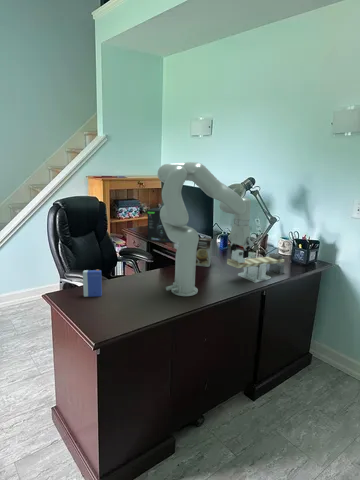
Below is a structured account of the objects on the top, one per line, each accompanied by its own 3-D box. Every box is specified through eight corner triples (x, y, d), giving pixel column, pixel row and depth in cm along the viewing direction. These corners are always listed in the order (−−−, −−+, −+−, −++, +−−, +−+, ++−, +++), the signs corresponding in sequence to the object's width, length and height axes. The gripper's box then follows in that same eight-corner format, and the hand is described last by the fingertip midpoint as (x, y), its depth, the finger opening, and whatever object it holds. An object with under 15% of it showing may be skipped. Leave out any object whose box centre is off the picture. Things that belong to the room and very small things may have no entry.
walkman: (102, 294, 156) (101, 269, 153) (101, 296, 153) (100, 271, 150) (84, 294, 155) (83, 269, 152) (83, 296, 152) (82, 271, 149)
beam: (237, 269, 170) (238, 261, 169) (226, 265, 177) (227, 257, 176) (284, 263, 190) (285, 256, 189) (272, 259, 197) (273, 252, 196)
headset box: (146, 240, 258) (147, 207, 252) (152, 237, 269) (153, 205, 263) (175, 243, 252) (175, 209, 246) (179, 240, 263) (180, 207, 257)
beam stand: (255, 282, 176) (256, 266, 174) (237, 275, 187) (238, 259, 184) (287, 274, 190) (288, 259, 188) (269, 268, 201) (270, 253, 198)
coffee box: (194, 265, 201) (195, 239, 198) (196, 262, 207) (197, 236, 204) (209, 267, 199) (210, 240, 195) (210, 264, 205) (212, 238, 202)
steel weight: (237, 263, 172) (239, 252, 170) (231, 261, 176) (232, 250, 174) (244, 263, 174) (246, 251, 173) (238, 260, 178) (239, 249, 177)
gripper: (224, 220, 175) (222, 252, 179) (248, 226, 161) (245, 260, 165) (235, 219, 179) (233, 250, 184) (259, 224, 166) (256, 258, 170)
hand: (239, 255), depth 174 cm, fingers open, 8 cm apart
